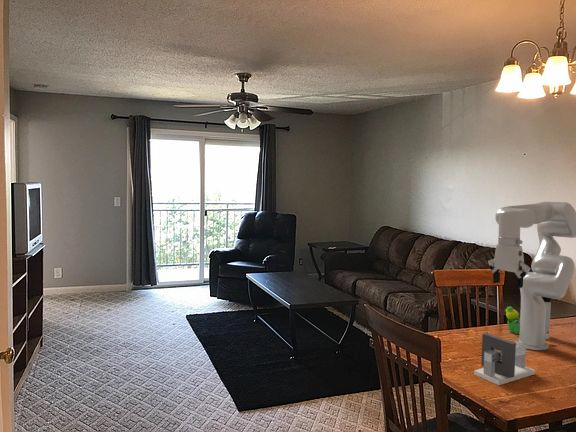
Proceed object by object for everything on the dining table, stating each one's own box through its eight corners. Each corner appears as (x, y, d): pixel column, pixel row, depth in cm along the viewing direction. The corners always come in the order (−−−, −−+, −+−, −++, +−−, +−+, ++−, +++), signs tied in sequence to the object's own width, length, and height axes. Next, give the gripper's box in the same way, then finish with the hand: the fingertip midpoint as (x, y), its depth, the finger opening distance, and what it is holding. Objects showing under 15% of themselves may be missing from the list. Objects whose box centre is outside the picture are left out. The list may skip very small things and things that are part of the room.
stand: (509, 364, 175) (510, 347, 174) (534, 374, 166) (535, 356, 165) (474, 374, 165) (474, 357, 165) (498, 385, 156) (499, 366, 156)
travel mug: (552, 339, 203) (554, 295, 202) (536, 338, 205) (538, 294, 203) (547, 334, 209) (549, 292, 208) (531, 333, 211) (533, 291, 209)
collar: (484, 364, 169) (486, 333, 168) (514, 376, 159) (515, 343, 158) (481, 365, 168) (482, 333, 167) (510, 377, 158) (512, 344, 157)
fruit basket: (525, 335, 208) (526, 311, 207) (504, 332, 212) (505, 308, 212) (526, 329, 218) (527, 305, 217) (505, 326, 222) (506, 303, 221)
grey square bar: (517, 351, 171) (518, 342, 171) (526, 354, 168) (526, 345, 168) (483, 360, 162) (483, 351, 162) (491, 363, 159) (492, 354, 159)
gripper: (536, 243, 171) (534, 288, 172) (495, 238, 186) (494, 279, 187) (524, 245, 167) (522, 291, 168) (483, 240, 182) (482, 282, 183)
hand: (507, 285), depth 178 cm, fingers open, 9 cm apart
